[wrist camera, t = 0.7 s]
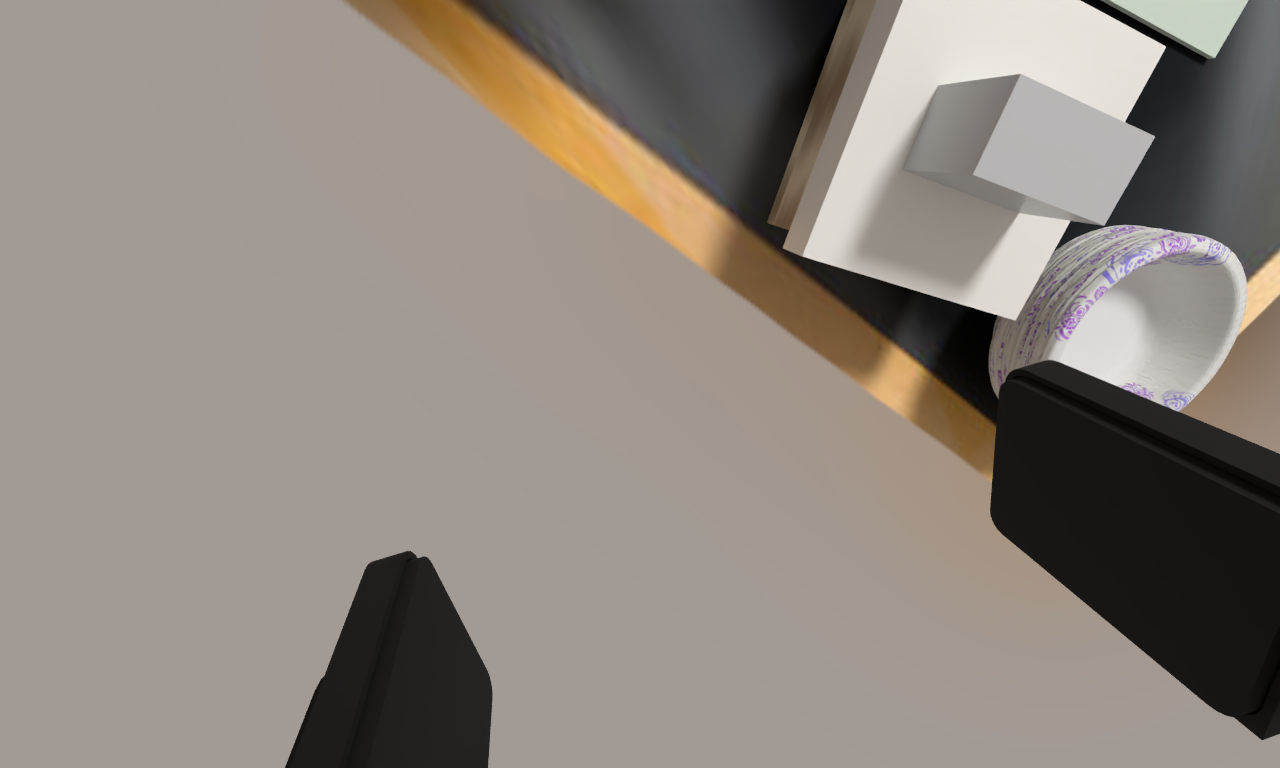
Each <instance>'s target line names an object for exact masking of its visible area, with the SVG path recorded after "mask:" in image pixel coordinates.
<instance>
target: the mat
mask: <svg viewBox="0 0 1280 768" xmlns="http://www.w3.org/2000/svg"><path fill="white" fill-rule="evenodd" d="M1101 1H1103V2H1105V3H1107V4H1108V5H1110V6H1112V7H1114V8H1116V9H1118V10H1119V11H1121V12H1123V13H1125V14H1127V15H1129V16H1130V17H1132V18H1134V19H1136V20H1138V21H1140V22H1141V23H1143V24H1145V25H1147V26H1149V27H1151V28H1152V29H1154V30H1156V31H1158V32H1160V33H1162V34H1163V35H1165V36H1167V37H1169V38H1171V39H1173V40H1174V41H1176V42H1178V43H1180V44H1182V45H1184V46H1185V47H1187V48H1189V49H1191V50H1193V51H1195V52H1196V53H1198V54H1200V55H1202V56H1204V57H1206V58H1207V59H1212V58H1215V57H1216V55H1217V53H1218V52H1219V50H1220V48H1221V47H1222V45H1223V43H1224V41H1225V40H1226V38H1227V36H1228V34H1229V33H1230V31H1231V29H1232V28H1233V26H1234V24H1235V22H1236V21H1237V19H1238V17H1239V16H1240V14H1241V12H1242V10H1243V9H1244V7H1245V5H1246V3H1247V2H1248V0H1101Z"/></svg>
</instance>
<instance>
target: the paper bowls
mask: <svg viewBox="0 0 1280 768" xmlns="http://www.w3.org/2000/svg"><path fill="white" fill-rule="evenodd" d="M1246 299H1247V284H1246V277H1245V274H1244V270H1243V268H1242V265H1241V263H1240V261H1239V260H1238V258H1237V257H1236V255H1235V254H1234V253H1233V252H1232V251H1230V249H1229V248H1227V247H1226V246H1224V245H1223V244H1221V243H1220V242H1217V241H1215V240H1213V239H1211V238H1208V237H1205V236H1202V235H1196V234H1188V233H1181V232H1174V231H1170V230H1165V229H1158V228H1149V227H1144V226H1132V225H1118V226H1110V227H1105V228H1102V229H1098V230H1095V231H1091V232H1089V233H1086V234H1084V235H1081V236H1079V237H1077V238H1075V239H1073V240H1071V241H1069V242H1068V243H1066V244H1065V245H1063V246H1062V247H1060V248H1059V249H1057V250H1056V251H1055V252H1053V254H1052V255H1051V257H1050V259H1049V261H1048V263H1047V264H1046V266H1045V268H1044V270H1043V272H1042V274H1041V275H1040V277H1039V279H1038V281H1037V283H1036V284H1035V286H1034V288H1033V290H1032V292H1031V294H1030V295H1029V297H1028V299H1027V301H1026V303H1025V304H1024V306H1023V308H1022V310H1021V312H1020V314H1019V315H1018V317H1017V319H1016V321H1015V320H1012V319H1008V318H1005V317H1002V316H998V315H997V318H996V321H995V325H994V330H993V337H992V341H991V345H990V350H989V374H990V380H991V384H992V387H993V390H994V392H995V394H996V395H997V398H998V397H999V389H1000V386H1001V385H1002V384H1003V383H1004V382H1005V379H1006V377H1007V375H1008V374H1009V372H1011V371H1013V370H1014V369H1018V368H1021V367H1024V366H1028V365H1031V364H1034V363H1038V362H1041V361H1045V360H1053V361H1058V362H1060V363H1063V364H1065V365H1067V366H1070V367H1072V368H1075V369H1077V370H1079V371H1082V372H1084V373H1087V374H1089V375H1091V376H1094V377H1096V378H1099V379H1101V380H1103V381H1106V382H1108V383H1111V384H1113V385H1115V386H1118V387H1120V388H1123V389H1125V390H1127V391H1130V392H1132V393H1135V394H1137V395H1139V396H1142V397H1144V398H1147V399H1149V400H1151V401H1154V402H1156V403H1159V404H1161V405H1163V406H1166V407H1168V408H1171V409H1173V410H1175V411H1178V412H1179V411H1180V410H1181V409H1182V408H1184V407H1185V406H1186V405H1187V404H1188V403H1189V402H1191V401H1192V400H1193V398H1195V397H1196V396H1197V394H1198V393H1199V392H1200V391H1201V390H1202V389H1203V388H1204V387H1205V386H1206V385H1207V384H1208V382H1209V381H1210V380H1211V379H1212V378H1213V376H1214V375H1215V373H1216V372H1217V371H1218V369H1219V368H1220V366H1221V365H1222V363H1223V362H1224V360H1225V358H1226V357H1227V355H1228V353H1229V351H1230V349H1231V348H1232V346H1233V344H1234V341H1235V339H1236V337H1237V335H1238V332H1239V330H1240V327H1241V324H1242V321H1243V317H1244V313H1245V308H1246Z"/></svg>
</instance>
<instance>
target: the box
mask: <svg viewBox="0 0 1280 768" xmlns="http://www.w3.org/2000/svg"><path fill="white" fill-rule="evenodd" d="M875 3H876V0H848V1H847V3H846V6H845V9H844V12H843V14H842V17H841V20H840V23H839V25H838V28H837V31H836V34H835V36H834V39H833V42H832V45H831V47H830V50H829V53H828V56H827V58H826V61H825V64H824V67H823V69H822V72H821V75H820V78H819V80H818V83H817V86H816V89H815V91H814V94H813V97H812V100H811V102H810V105H809V108H808V111H807V113H806V116H805V119H804V122H803V124H802V127H801V130H800V133H799V135H798V138H797V141H796V144H795V146H794V149H793V152H792V155H791V157H790V160H789V163H788V166H787V168H786V171H785V174H784V177H783V179H782V182H781V185H780V188H779V190H778V193H777V196H776V199H775V201H774V204H773V207H772V210H771V212H770V215H769V218H768V221H767V223H769V224H772V225H774V226H777V227H780V228H783V229H786V230H790V227H791V225H792V222H793V219H794V217H795V214H796V211H797V209H798V206H799V203H800V201H801V198H802V196H803V193H804V190H805V188H806V185H807V182H808V180H809V177H810V174H811V172H812V169H813V167H814V164H815V161H816V159H817V156H818V153H819V151H820V148H821V145H822V143H823V140H824V138H825V135H826V132H827V130H828V127H829V124H830V122H831V119H832V116H833V114H834V111H835V109H836V106H837V103H838V101H839V98H840V95H841V93H842V90H843V87H844V85H845V82H846V80H847V77H848V74H849V72H850V69H851V66H852V64H853V61H854V58H855V56H856V53H857V51H858V48H859V45H860V43H861V40H862V37H863V35H864V32H865V29H866V27H867V24H868V22H869V19H870V16H871V14H872V11H873V8H874V6H875Z"/></svg>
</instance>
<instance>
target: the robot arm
mask: <svg viewBox="0 0 1280 768" xmlns="http://www.w3.org/2000/svg"><path fill="white" fill-rule="evenodd" d="M990 514H991V517H992V520H993V522H994V525H995V526H996V528H997V529H998V530H999V531H1000V532H1001V533H1002V534H1003V535H1004V536H1005V537H1006V538H1007V539H1009V540H1010V541H1011V542H1012V543H1014V544H1015V545H1016V546H1017V547H1018V548H1020V549H1021V550H1022V551H1023V552H1024V553H1026V554H1027V555H1028V556H1029V557H1030V558H1032V559H1033V560H1034V561H1035V562H1036V563H1038V564H1039V565H1040V566H1041V567H1042V568H1044V569H1045V570H1046V571H1047V572H1048V573H1050V574H1051V575H1052V576H1054V577H1055V578H1056V579H1057V580H1058V581H1059V582H1061V583H1062V584H1063V585H1064V586H1065V587H1067V588H1068V589H1069V590H1070V591H1071V592H1073V593H1074V594H1075V595H1076V596H1077V597H1079V598H1080V599H1081V600H1082V601H1083V602H1085V603H1086V604H1087V605H1088V606H1089V607H1091V608H1092V609H1093V610H1094V611H1095V612H1097V613H1098V614H1099V615H1100V616H1101V617H1103V618H1104V619H1105V620H1106V621H1108V622H1109V623H1110V624H1111V625H1112V626H1114V627H1115V628H1116V629H1117V630H1118V631H1120V632H1121V633H1122V634H1123V635H1124V636H1126V637H1127V638H1128V639H1129V640H1130V641H1132V642H1133V643H1134V644H1135V645H1137V646H1138V647H1139V648H1140V649H1141V650H1142V651H1144V652H1145V653H1146V654H1147V655H1149V656H1150V657H1151V658H1152V659H1153V660H1155V661H1156V662H1157V663H1158V664H1160V665H1161V666H1162V667H1163V668H1164V669H1165V670H1167V671H1168V672H1169V673H1170V674H1171V675H1173V676H1174V677H1175V678H1176V679H1178V680H1179V681H1180V682H1181V683H1182V684H1184V685H1185V686H1186V687H1187V688H1188V689H1190V690H1191V691H1192V692H1193V693H1194V694H1195V695H1197V696H1198V697H1199V698H1200V699H1202V700H1203V701H1204V702H1205V703H1206V704H1208V705H1209V706H1210V707H1212V708H1213V709H1215V710H1216V711H1218V712H1220V713H1222V714H1224V715H1227V716H1231V717H1234V718H1235V719H1237V720H1238V721H1239V722H1241V723H1242V724H1243V725H1244V726H1245V727H1247V728H1248V729H1249V730H1250V731H1251V732H1253V733H1254V734H1255V735H1256V736H1258V737H1259V738H1260V739H1261V740H1264V739H1267V738H1269V737H1272V736H1275V735H1277V734H1280V454H1278V453H1276V452H1274V451H1271V450H1269V449H1267V448H1264V447H1262V446H1259V445H1257V444H1255V443H1252V442H1249V441H1247V440H1245V439H1242V438H1240V437H1237V436H1235V435H1233V434H1230V433H1228V432H1226V431H1223V430H1221V429H1219V428H1216V427H1214V426H1211V425H1209V424H1207V423H1204V422H1202V421H1199V420H1197V419H1194V418H1192V417H1190V416H1187V415H1185V414H1183V413H1180V412H1178V411H1175V410H1173V409H1171V408H1168V407H1166V406H1163V405H1161V404H1159V403H1156V402H1154V401H1151V400H1149V399H1147V398H1144V397H1142V396H1139V395H1137V394H1135V393H1132V392H1130V391H1127V390H1125V389H1123V388H1120V387H1118V386H1115V385H1113V384H1111V383H1108V382H1106V381H1103V380H1101V379H1099V378H1096V377H1094V376H1091V375H1089V374H1087V373H1084V372H1082V371H1079V370H1077V369H1075V368H1072V367H1070V366H1067V365H1065V364H1063V363H1060V362H1058V361H1053V360H1045V361H1041V362H1038V363H1034V364H1031V365H1028V366H1024V367H1021V368H1018V369H1014V370H1013V371H1011V372H1009V374H1008V375H1007V377H1006V379H1005V382H1004V383H1003V384H1002V385H1001V386H1000V389H999V397H998V411H997V425H996V438H995V452H994V466H993V479H992V493H991V508H990ZM491 712H492V685H491V681H490V677H489V674H488V671H487V669H486V667H485V665H484V663H483V661H482V659H481V658H480V656H479V654H478V652H477V650H476V648H475V646H474V644H473V642H472V640H471V638H470V636H469V634H468V632H467V630H466V628H465V626H464V625H463V623H462V621H461V619H460V617H459V615H458V613H457V611H456V609H455V607H454V605H453V603H452V601H451V599H450V597H449V596H448V594H447V592H446V590H445V588H444V586H443V584H442V582H441V580H440V578H439V576H438V574H437V572H436V570H435V568H434V567H433V565H432V563H431V561H430V560H429V559H428V558H427V557H421V558H417V557H416V555H415V554H414V553H413V552H411V551H406V552H403V553H400V554H396V555H393V556H390V557H386V558H383V559H379V560H376V561H373V562H371V563H369V564H368V565H367V567H366V569H365V571H364V574H363V576H362V579H361V582H360V584H359V587H358V590H357V592H356V595H355V597H354V600H353V602H352V605H351V608H350V610H349V613H348V616H347V618H346V621H345V623H344V626H343V629H342V631H341V634H340V637H339V639H338V642H337V645H336V647H335V650H334V652H333V655H332V658H331V660H330V663H329V665H328V668H327V671H326V674H325V676H324V677H323V678H322V679H321V680H320V682H319V684H318V686H317V688H316V690H315V692H314V694H313V697H312V700H311V702H310V705H309V707H308V710H307V712H306V715H305V718H304V720H303V723H302V725H301V728H300V730H299V733H298V736H297V738H296V741H295V743H294V746H293V749H292V751H291V754H290V756H289V759H288V762H287V764H286V767H285V768H488V758H489V742H490V727H491Z"/></svg>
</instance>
